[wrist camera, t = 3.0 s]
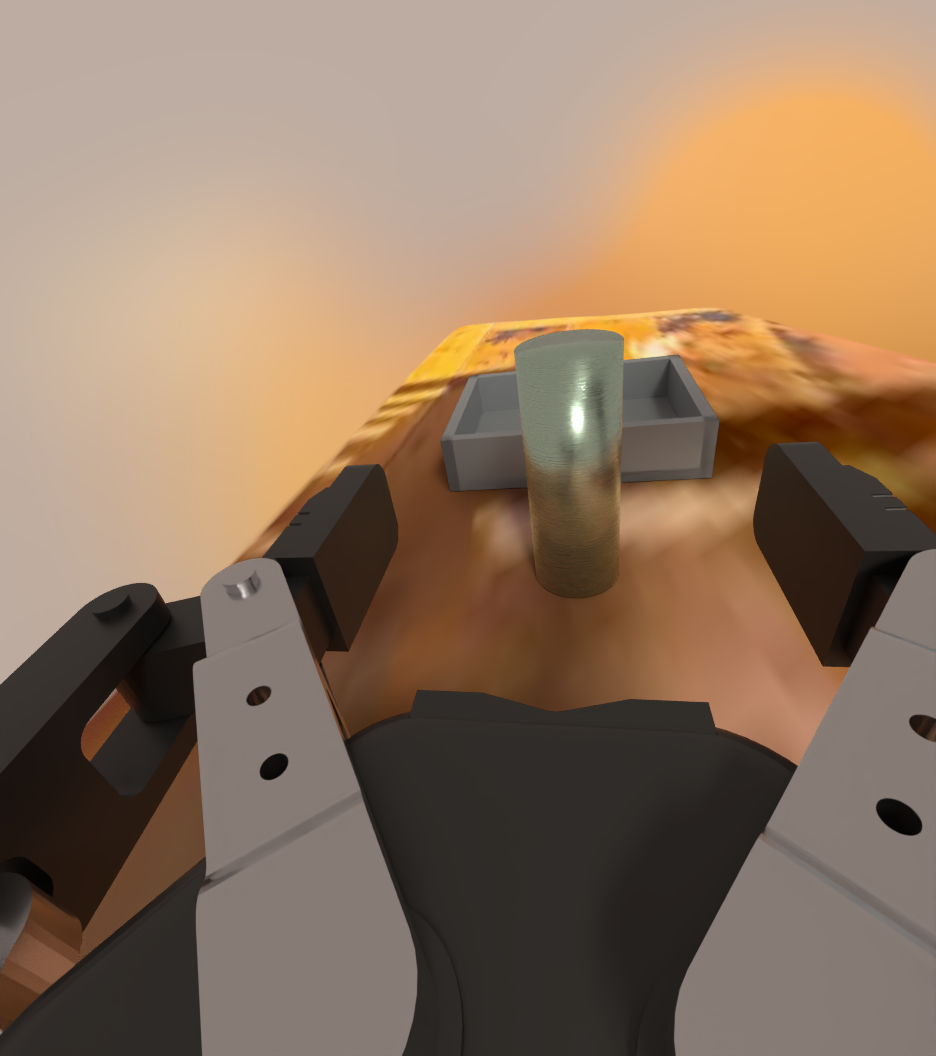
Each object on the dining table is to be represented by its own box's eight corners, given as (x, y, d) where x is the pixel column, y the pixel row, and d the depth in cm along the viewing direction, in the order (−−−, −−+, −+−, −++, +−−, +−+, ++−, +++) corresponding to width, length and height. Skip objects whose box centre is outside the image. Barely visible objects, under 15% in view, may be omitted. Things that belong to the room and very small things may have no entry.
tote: (674, 401, 44) (678, 354, 42) (711, 477, 33) (719, 420, 31) (476, 417, 48) (470, 375, 45) (450, 491, 37) (440, 440, 34)
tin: (615, 545, 29) (618, 324, 22) (622, 597, 25) (629, 354, 18) (537, 547, 30) (518, 336, 23) (533, 598, 26) (509, 366, 19)
